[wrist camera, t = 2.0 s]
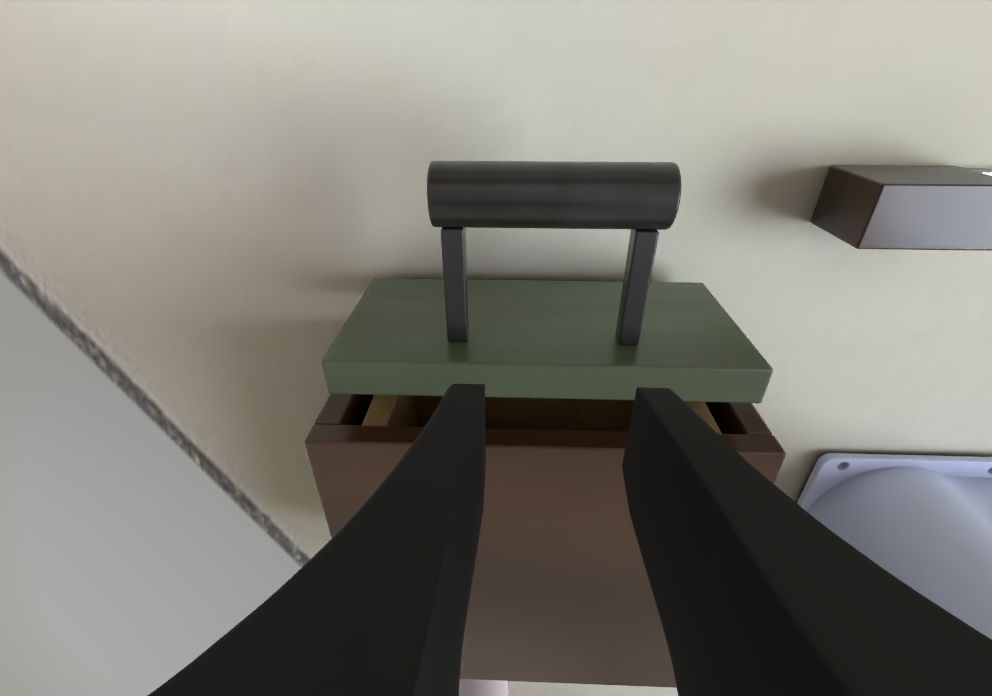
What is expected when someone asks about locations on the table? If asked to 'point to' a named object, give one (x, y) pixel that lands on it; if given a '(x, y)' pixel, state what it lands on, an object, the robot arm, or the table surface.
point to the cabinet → (539, 542)
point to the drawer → (544, 311)
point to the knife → (907, 207)
